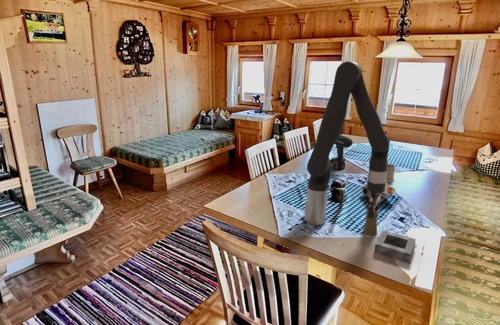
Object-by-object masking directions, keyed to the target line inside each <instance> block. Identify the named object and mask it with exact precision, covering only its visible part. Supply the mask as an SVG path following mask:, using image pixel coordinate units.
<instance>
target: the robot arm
mask: <svg viewBox="0 0 500 325" xmlns="http://www.w3.org/2000/svg"><path fill="white" fill-rule="evenodd" d="M350 97H352V98H353V101H354V105H355V108H356V109H355V110H356V112H357V115H358V118H359V120H360V122H361V125H362V126H363V128H364V130H365V134H366V137H367V140H368V143H369V145H370V148H371V152H370V154H371V156H370V158H369V164H368V171H367V179H366V185H367V190H368V191H370V192H371V194H370V195H369V197H368V199H367V206H366V211H367V210H369V211H368V218H373V217H374V210H376V211H377V212H378V211H379V206H380V202H381V201H380V200H381V193H382V192H384V191H385V186H386V183H387V182H386V177H387V173H386V171H387V164H388V157H389V149H390V143H391V141H390V140H391V139H390V137H389V135H388V134H386V133H385V130H384V128H383V126H382V121H381V118H380V116H379V114H378V112H377V109H376V107H375V105H374V102H373V101H372V98H371V96H370V94H369V92H368V90H367V87H366V83H365V79H364V75H363V72H362V68H361V65H360V64H359V63H358V62H356V61H352V60H347V61H344V62H342V63H340V64H339V66H338V67H337V69H336V71H335V75H334V80H333V85H332V91H331V93H330V97H329V99H328V101H327V104H326V107H325V110H324V113H323V114H322V115H323V116H322V119H321V122H320V124H319V130H318V133H317V137H316V141H315V143H314V144H315V145H314V147H313V149H312V152H311V154H310V156H309V159H308V160H307V165H306V170H307V172H308V174H309V175H310V176H309V179H308V182H307V196H306V201H305V203H304V218H303V219H304V221H305V222H307V223H308V224H310V225H314V226H319V225H324V224H325V223H326V216H327V205H328V204H327V200H328V188H329V183H330V178H331V170H332V168H331V161H330V160H331V158H330V154H331V151H332V149H333V147H334V145H335V142H336V140H337V138H338V136H339V134H340V135H341V132H342V130H343V127H344V123H345V121H346V117H347V111H348V110H347V109H348V104H349V99H350Z"/></svg>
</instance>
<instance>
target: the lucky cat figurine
mask: <svg viewBox="0 0 500 325" xmlns="http://www.w3.org/2000/svg"><path fill="white" fill-rule="evenodd" d="M361 191H362V195H363V197H364V198H366V199H367V200H368V197H369V195H370V194H371V192H370V191H368V190H367V184H366V185H364V186H363V188H362V190H361ZM395 193H396V189H395V188H394V187H393V186H390V184H389V183H388V182H386V186H385V191H384V192H382V193H381V200H380V202H382V201H384V200H385V199H387V198H389V197H390V196H391V195H393V194H395Z"/></svg>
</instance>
